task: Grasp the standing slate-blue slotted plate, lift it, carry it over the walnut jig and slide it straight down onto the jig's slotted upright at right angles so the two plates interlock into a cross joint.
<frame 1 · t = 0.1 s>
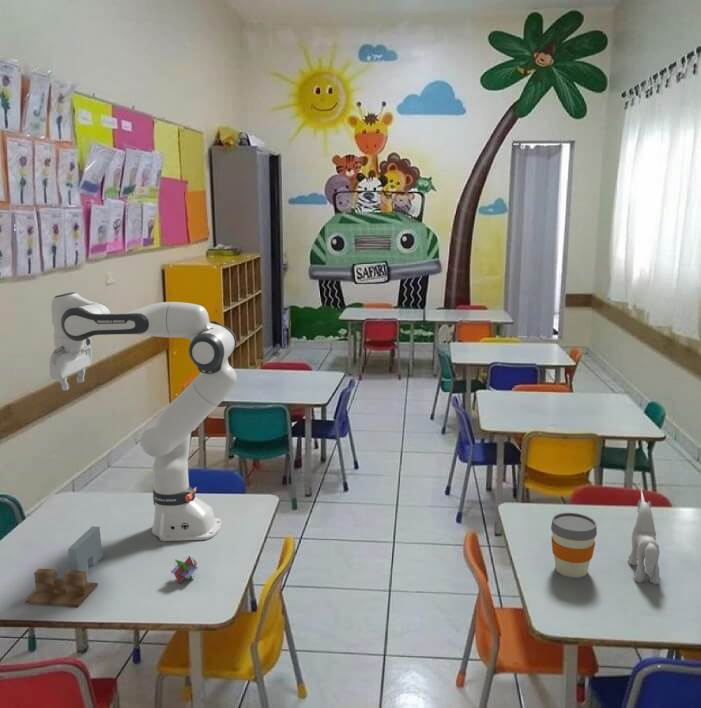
hand: (73, 386, 227), 48 cm above the table, fingers open, 8 cm apart
reusable coffee cup: (571, 570, 205), on the table
unicorn: (642, 568, 206), on the table
jig: (62, 594, 194), on the table
geometric puzzle: (185, 580, 201), on the table
slotted plate: (87, 568, 208), on the table
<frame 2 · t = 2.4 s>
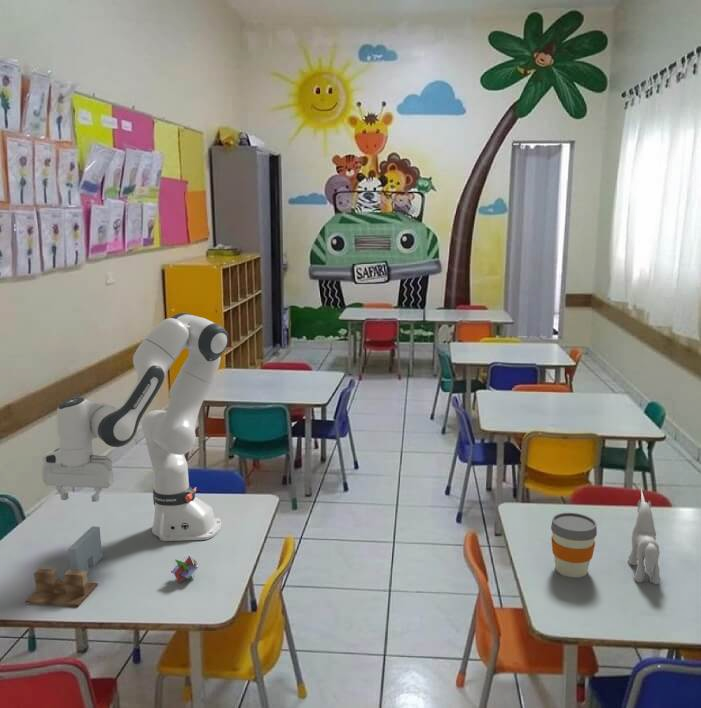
hand: (80, 500, 203), 22 cm above the table, fingers open, 8 cm apart
nothing on the table moved.
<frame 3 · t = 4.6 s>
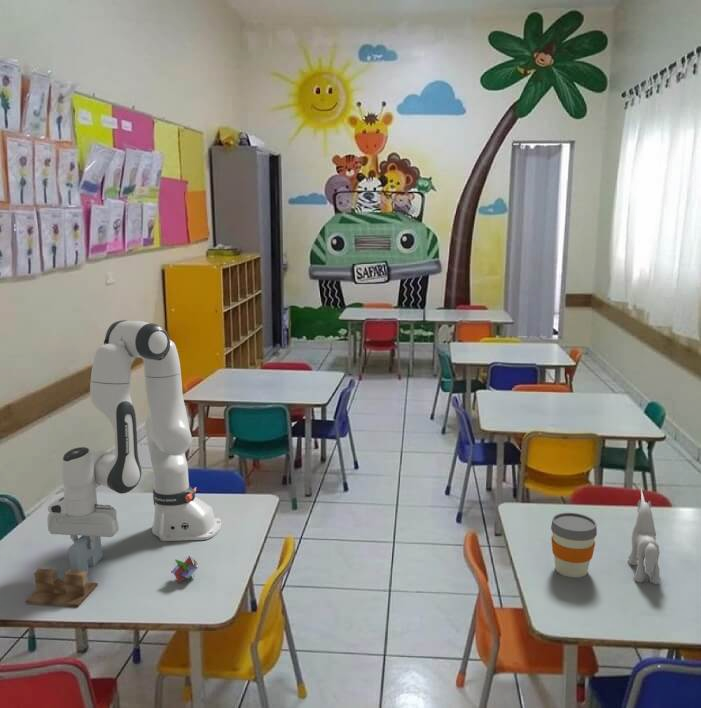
hand: (85, 547, 207), 7 cm above the table, fingers closed on slotted plate, 2 cm apart
slotted plate: (87, 568, 208), on the table, touching gripper
everything else where it was.
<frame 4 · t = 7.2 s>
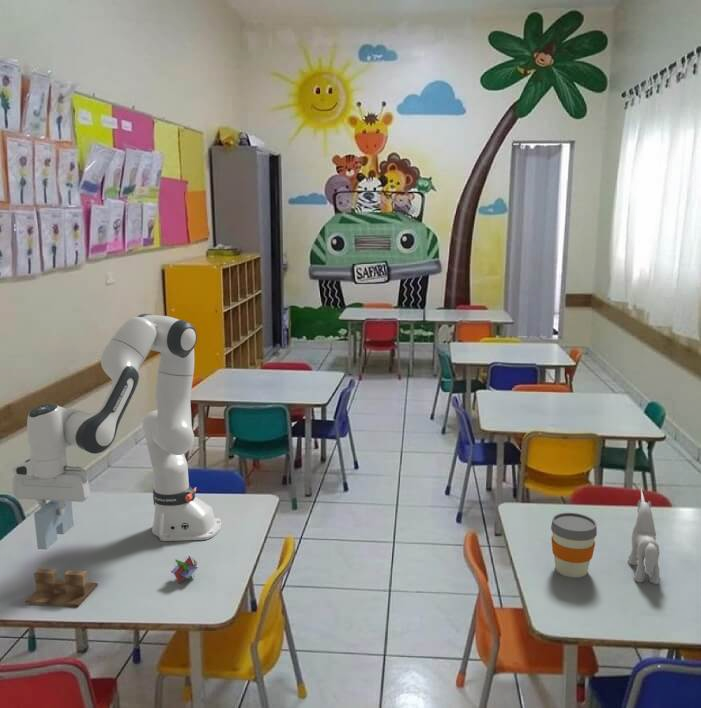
hand: (54, 514, 189), 24 cm above the table, fingers closed on slotted plate, 2 cm apart
slotted plate: (56, 536, 191), point 17 cm above the table, touching gripper
everything else where it was.
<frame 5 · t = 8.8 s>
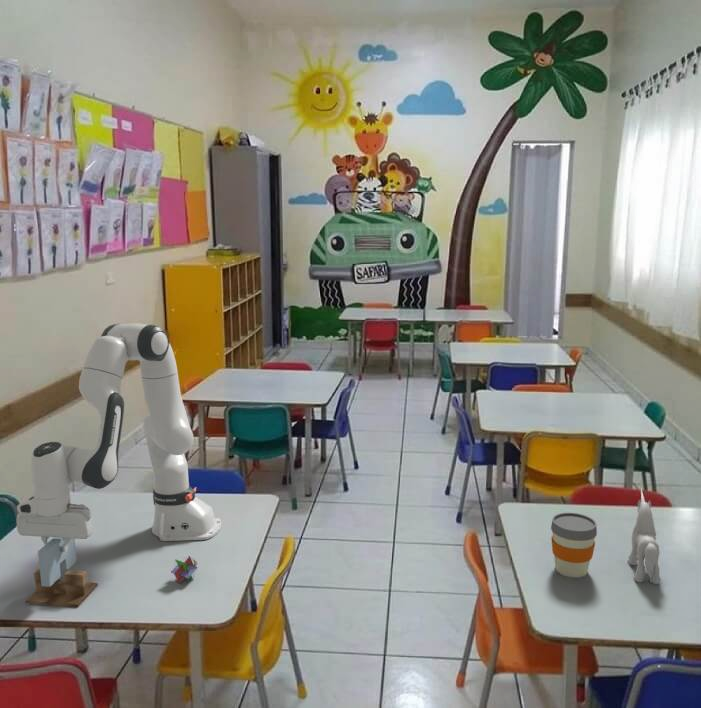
hand: (57, 550, 192), 13 cm above the table, fingers closed on slotted plate, 2 cm apart
slotted plate: (59, 572, 193), point 7 cm above the table, touching gripper
everything else where it was.
when the fingers open (8 cm above the table, at t = 10.0 s): slotted plate stays where it is, resting on jig.
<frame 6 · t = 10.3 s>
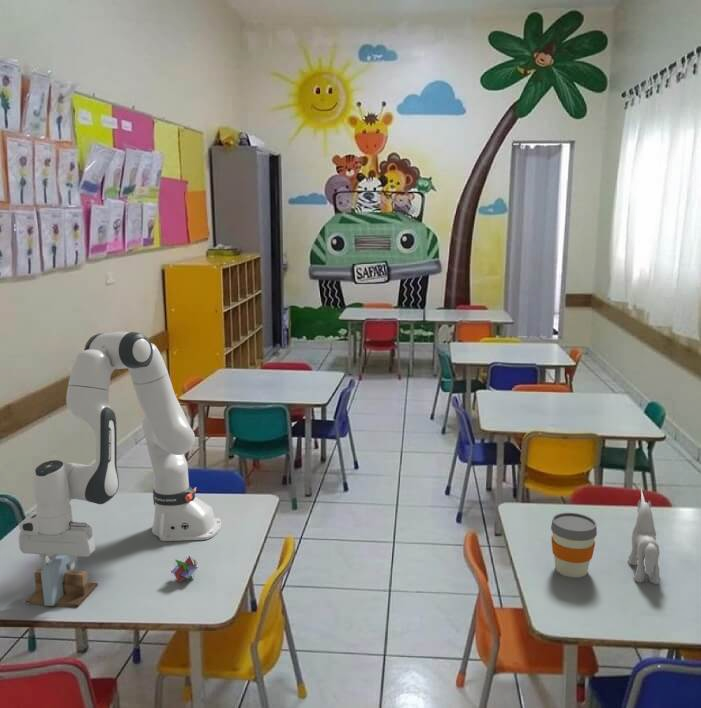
hand: (59, 568, 193), 8 cm above the table, fingers open, 5 cm apart
slotted plate: (62, 591, 194), point 1 cm above the table, touching jig
everything else where it was.
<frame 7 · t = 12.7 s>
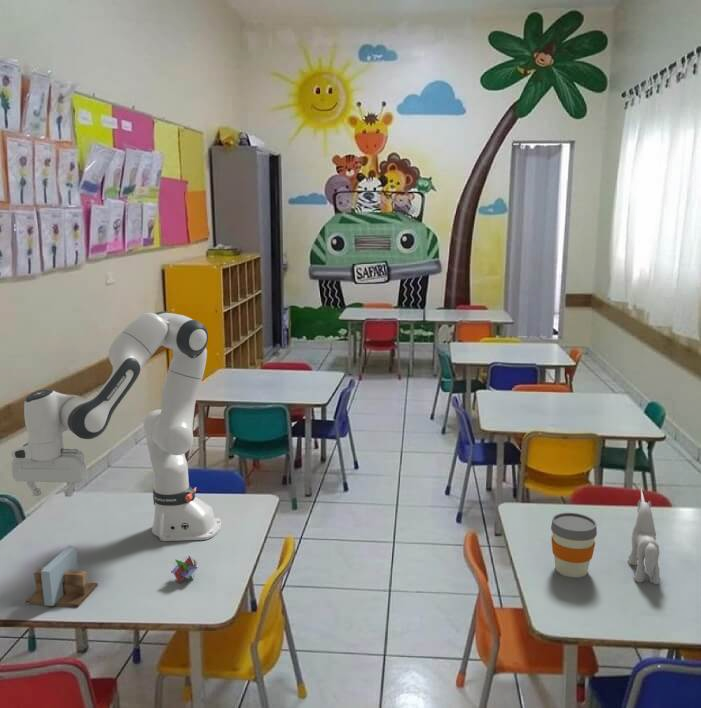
hand: (52, 495, 197), 26 cm above the table, fingers open, 8 cm apart
nothing on the table moved.
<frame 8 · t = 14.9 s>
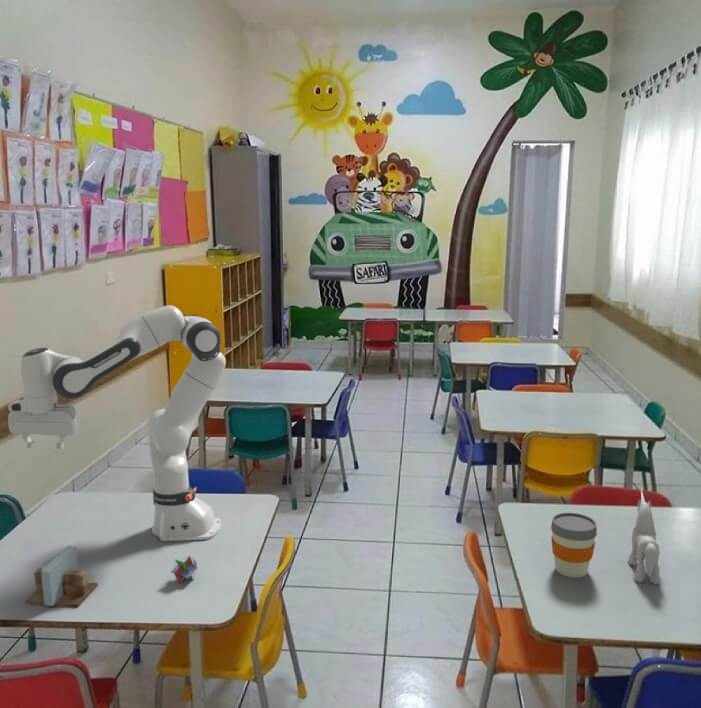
hand: (45, 448, 210), 34 cm above the table, fingers open, 8 cm apart
nothing on the table moved.
at the end: slotted plate 0.1 cm off-centre on the jig, point 0.8 cm above the jig's base; slotted plate tilted 0°; the gripper is holding nothing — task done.
